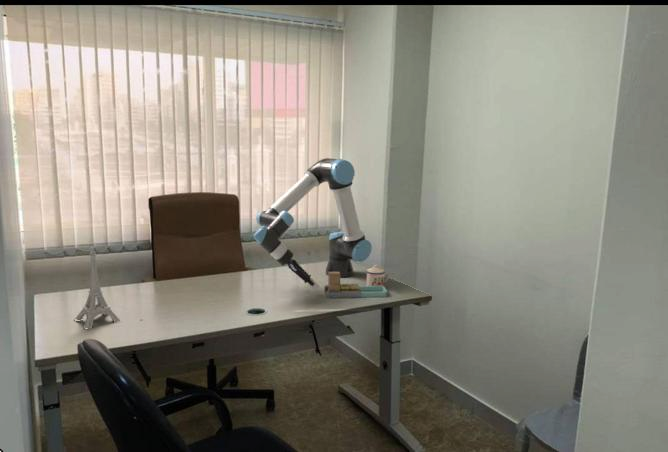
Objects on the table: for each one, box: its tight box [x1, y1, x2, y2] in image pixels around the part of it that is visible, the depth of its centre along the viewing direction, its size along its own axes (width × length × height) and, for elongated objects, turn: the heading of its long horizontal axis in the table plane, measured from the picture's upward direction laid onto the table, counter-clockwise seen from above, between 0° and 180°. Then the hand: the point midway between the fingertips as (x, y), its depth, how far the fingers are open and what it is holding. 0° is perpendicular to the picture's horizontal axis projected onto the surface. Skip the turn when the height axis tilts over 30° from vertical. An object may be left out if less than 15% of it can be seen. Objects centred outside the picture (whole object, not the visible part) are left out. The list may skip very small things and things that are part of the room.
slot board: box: [324, 284, 363, 299], centre depth 233 cm, size 12×16×4 cm
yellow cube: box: [349, 283, 360, 291], centre depth 233 cm, size 4×4×4 cm
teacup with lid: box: [365, 264, 389, 287], centre depth 246 cm, size 12×9×12 cm
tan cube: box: [340, 283, 350, 291], centre depth 233 cm, size 4×4×4 cm
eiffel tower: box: [74, 246, 121, 328], centre depth 194 cm, size 13×13×30 cm
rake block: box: [327, 272, 341, 291], centre depth 232 cm, size 5×5×10 cm
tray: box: [359, 285, 389, 298], centre depth 234 cm, size 10×12×3 cm
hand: (318, 288), depth 231 cm, fingers closed
